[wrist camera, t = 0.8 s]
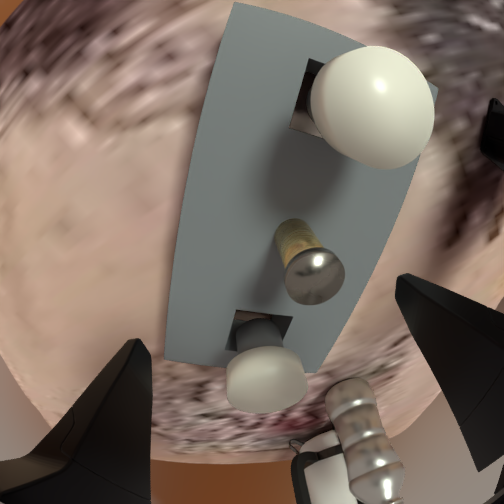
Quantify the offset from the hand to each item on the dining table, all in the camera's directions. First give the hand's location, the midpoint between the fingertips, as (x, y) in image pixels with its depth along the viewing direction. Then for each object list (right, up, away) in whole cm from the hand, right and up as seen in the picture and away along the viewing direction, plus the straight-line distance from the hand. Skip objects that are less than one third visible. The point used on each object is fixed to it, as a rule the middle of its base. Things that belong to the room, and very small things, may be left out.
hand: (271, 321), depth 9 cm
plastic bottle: (+12, -16, +25) cm, 32 cm away
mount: (+2, +5, +12) cm, 14 cm away
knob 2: (+4, +11, +6) cm, 13 cm away
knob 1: (0, -4, +13) cm, 14 cm away
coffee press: (+12, -29, +32) cm, 45 cm away
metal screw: (+2, +3, +9) cm, 10 cm away
